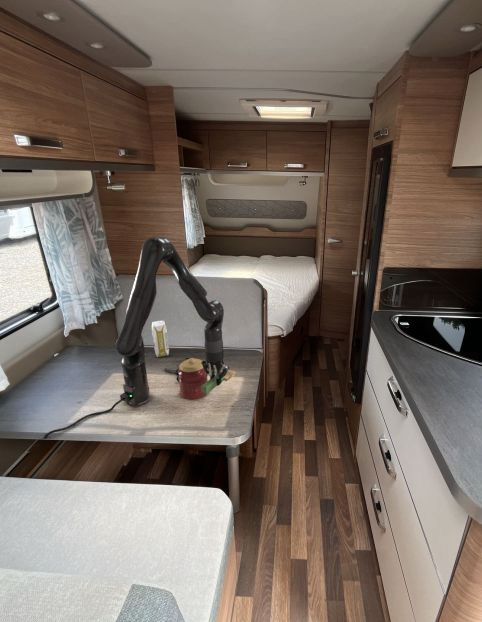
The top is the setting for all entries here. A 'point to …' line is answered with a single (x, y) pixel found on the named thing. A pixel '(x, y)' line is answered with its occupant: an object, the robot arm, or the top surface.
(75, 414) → the top surface
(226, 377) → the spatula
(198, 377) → the kitchen canister
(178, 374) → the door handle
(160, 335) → the juice carton
